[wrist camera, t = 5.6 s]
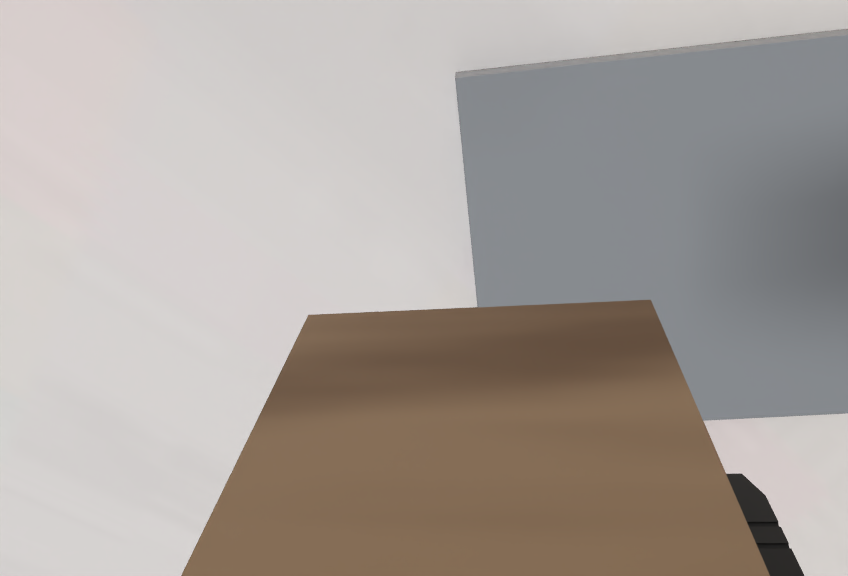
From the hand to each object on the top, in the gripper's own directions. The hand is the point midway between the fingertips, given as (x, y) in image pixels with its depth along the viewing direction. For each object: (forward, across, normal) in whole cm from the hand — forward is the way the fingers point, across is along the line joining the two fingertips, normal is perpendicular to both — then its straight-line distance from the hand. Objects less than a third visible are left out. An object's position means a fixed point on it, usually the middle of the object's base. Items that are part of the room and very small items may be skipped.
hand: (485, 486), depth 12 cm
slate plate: (+17, -7, +3) cm, 19 cm away
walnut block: (+1, 0, 0) cm, 1 cm away
